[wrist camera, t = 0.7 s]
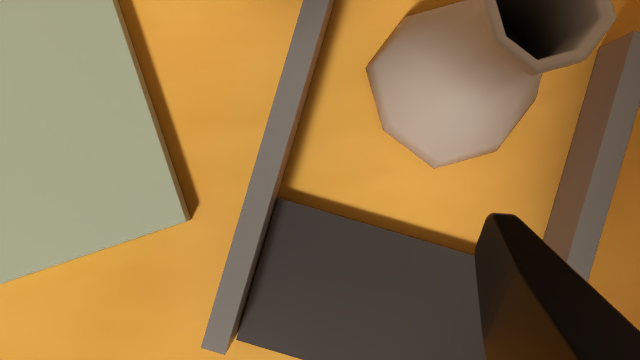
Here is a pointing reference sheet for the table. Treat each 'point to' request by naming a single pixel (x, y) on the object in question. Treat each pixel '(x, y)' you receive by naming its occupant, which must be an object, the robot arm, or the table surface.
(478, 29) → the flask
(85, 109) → the pad
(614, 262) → the table surface
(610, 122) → the trough
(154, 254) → the table surface
